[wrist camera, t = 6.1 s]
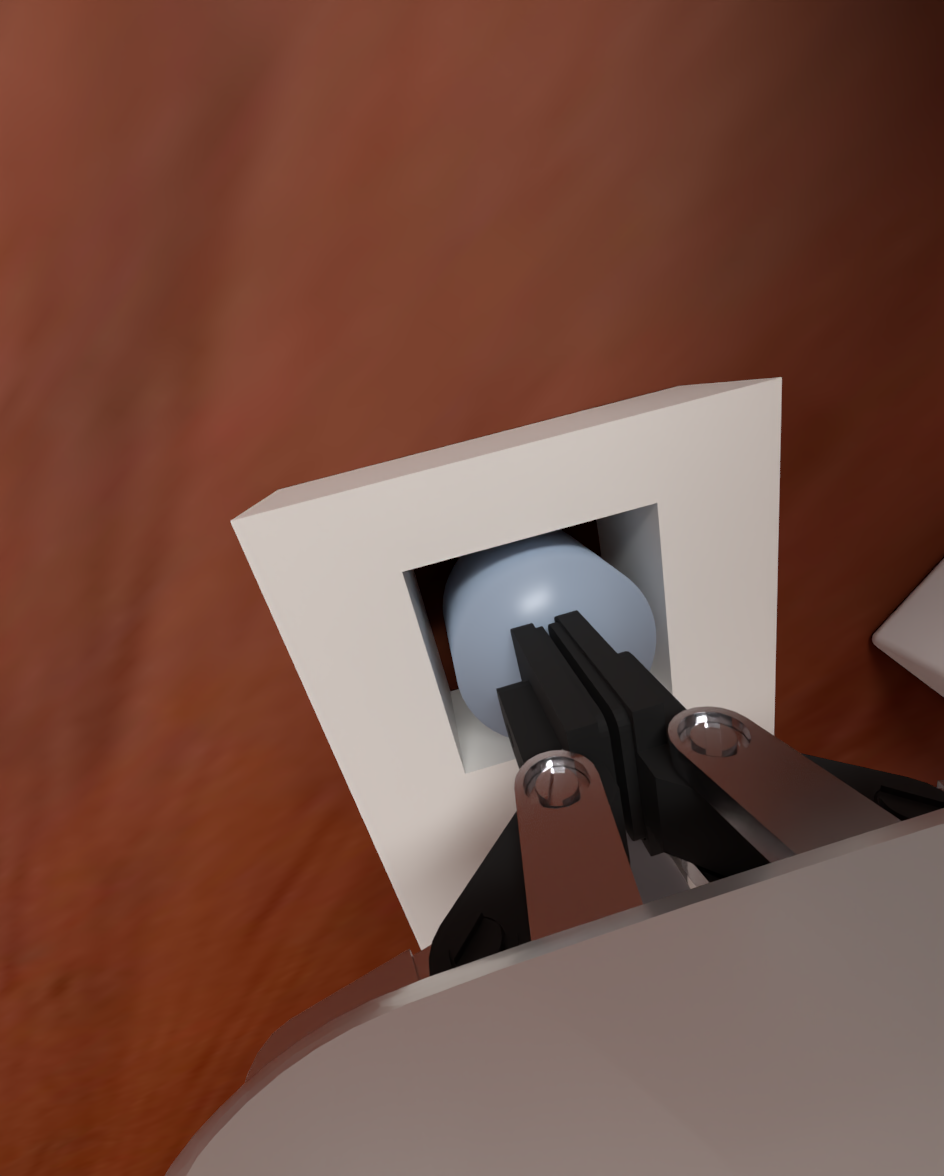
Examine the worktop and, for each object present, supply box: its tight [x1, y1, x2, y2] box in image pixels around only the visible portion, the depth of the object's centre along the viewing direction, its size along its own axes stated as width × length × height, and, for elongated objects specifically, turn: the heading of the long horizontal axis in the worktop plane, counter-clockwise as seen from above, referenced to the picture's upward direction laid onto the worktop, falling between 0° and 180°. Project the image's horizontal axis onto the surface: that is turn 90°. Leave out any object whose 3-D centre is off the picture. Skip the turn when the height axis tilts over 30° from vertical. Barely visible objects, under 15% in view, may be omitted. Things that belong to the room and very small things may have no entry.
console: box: [230, 377, 782, 950], centre depth 17 cm, size 28×12×4 cm, turn 13°
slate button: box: [442, 530, 656, 738], centre depth 13 cm, size 5×5×4 cm
